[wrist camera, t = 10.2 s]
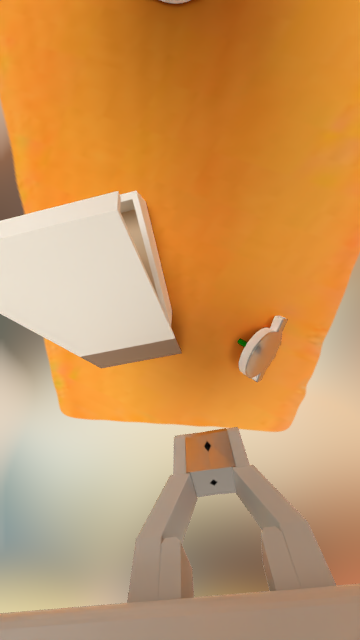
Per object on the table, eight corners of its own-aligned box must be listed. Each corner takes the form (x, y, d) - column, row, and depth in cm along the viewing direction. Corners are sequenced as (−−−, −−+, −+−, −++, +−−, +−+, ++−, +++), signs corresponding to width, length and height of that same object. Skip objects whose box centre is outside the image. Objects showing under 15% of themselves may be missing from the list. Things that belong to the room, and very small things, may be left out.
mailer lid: (-78, 240, 17) (-96, 262, 15) (118, 190, 15) (117, 209, 14) (102, 356, 43) (101, 368, 41) (179, 341, 42) (181, 353, 40)
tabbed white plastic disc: (266, 376, 46) (257, 404, 36) (233, 361, 49) (218, 383, 40) (292, 317, 40) (290, 333, 31) (253, 305, 44) (240, 316, 34)
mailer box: (51, 225, 34) (16, 220, 27) (145, 201, 33) (136, 190, 26) (94, 327, 42) (75, 346, 34) (172, 311, 40) (170, 327, 33)
